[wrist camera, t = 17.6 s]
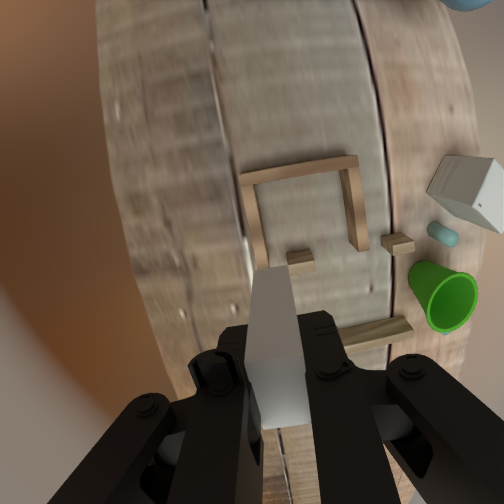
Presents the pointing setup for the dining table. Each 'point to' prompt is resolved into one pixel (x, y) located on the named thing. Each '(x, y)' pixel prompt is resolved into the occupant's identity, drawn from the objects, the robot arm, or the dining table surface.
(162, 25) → the dining table surface
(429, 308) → the cup
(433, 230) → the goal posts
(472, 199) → the supplement box
